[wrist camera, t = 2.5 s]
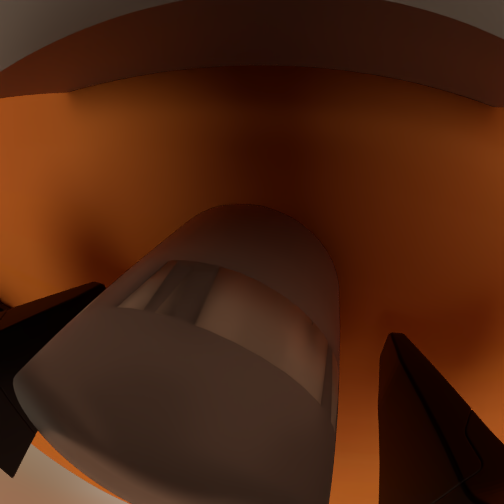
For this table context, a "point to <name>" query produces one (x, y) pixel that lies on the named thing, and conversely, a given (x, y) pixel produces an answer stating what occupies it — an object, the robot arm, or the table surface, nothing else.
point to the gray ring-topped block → (252, 40)
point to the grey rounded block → (202, 369)
